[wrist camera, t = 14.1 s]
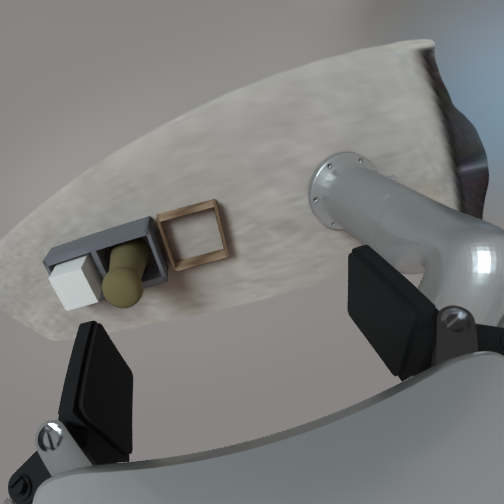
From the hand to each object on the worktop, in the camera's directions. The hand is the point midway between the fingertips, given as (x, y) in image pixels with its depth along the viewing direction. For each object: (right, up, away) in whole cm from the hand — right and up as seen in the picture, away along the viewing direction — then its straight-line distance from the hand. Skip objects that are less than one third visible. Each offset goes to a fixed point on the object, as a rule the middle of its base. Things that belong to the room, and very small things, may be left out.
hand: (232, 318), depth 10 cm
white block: (-25, 0, +31) cm, 40 cm away
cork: (-17, +2, +32) cm, 36 cm away
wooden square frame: (-8, +5, +33) cm, 34 cm away
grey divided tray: (-21, +1, +31) cm, 38 cm away
